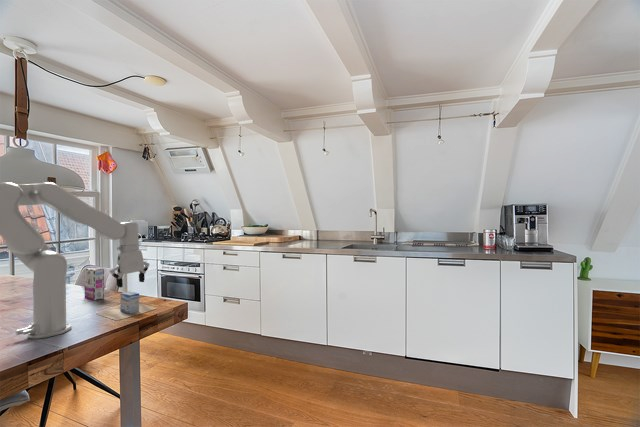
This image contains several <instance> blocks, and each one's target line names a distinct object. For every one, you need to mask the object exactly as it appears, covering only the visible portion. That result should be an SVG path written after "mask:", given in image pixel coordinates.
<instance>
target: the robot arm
mask: <svg viewBox="0 0 640 427" xmlns="http://www.w3.org/2000/svg"><path fill="white" fill-rule="evenodd" d="M36 205H44V206H47V207H48V208H50V209H52V210H54V211H55V212H57V213H59V214H61V215H62V216H63V217H66V218H67V219H68V220H70V221H73V222H75V223H79V224H82V225H84V226H87V227H89V228H92V229H93V230H95V231H96V234H97V236H98V237H100V238H101V239H104V240H113V241H116V240H119V246H117V247H116V250H117V251H119V252H118V255H117V259H116V265H115V266H114V267H113V268H111V269H110V270H109V273H110V275H111V277H113V278H115V279H116V286H117V287H118V288H123V287H124V286H123V285H124V284H123V281H124V279H123V278H122V277H123V276H124V275H127V274H132V273H137V272H139V273H138V281H139V283H144V282H145V274H146V272H148V269H149V267H150V263H149V262H147V261H144V256H143V253H142V249H140V243H139V238H140V237H139V224H138V222H136V221H123V222H119V221H117V220H116V219H114V218H113V217H111V216H110V215H108V214H107V213H104V212H103V211H101V210H100V209H97V208H96V207H94V206H92V205H91V204H88V203H87V202H85V201H83V200H81V198H79V197H77V196H75V195H74V194H72V193H71V192H69V191H68V190H66V189H64V188H63V187H62V186H60V185H58V184H56V183H55V182H51V181H50V182H49V181H47V182H46V181H45V182H40V183H28V184H27V183H13V182H7V181H6V182H5V181H4V182H0V237H2V239H4V241H5V245H6V246H5V247H6V248H8V250H9V251H10V252H11V253H12V254H13V255H14V256H15V257H16V258H17V259H19V261H20V262H21V263H22V264H24V265H25V267H27V268H28V269H29V270H30V271H31V272H33V280H32V306H33V307H32V311H33V312H32V313H33V314H32V315H33V321H32V322H31V323H30V325H29V326H27V327H24V328H19V329H16V330H15V335H16V336H20V335H27V338H30V339H34V340H35V339H44V338H49V337H55V336H58V335H62V334H64V333H66V332H68V331H70V330H71V329H72V324H71V323H67V291H66V290H67V287H66V286H67V284H66V283H67V274H68V273H67V271H68V261H67V259H66V257H65V256H64V255H63V254H61V253H60V252H57V251H53V250H52V249H51V248H50V247H49V246H48V244H47V243H45V238H44V236H43V235H42V234H41V233H40V232H39V231H38V230H37V229H36V228H35V227H34V226H33V225H32V224H31V223H30V222H29V221H28V220H27V219H26V217H24V215H23V214H22V213H21V211H20V207H19V206H22V207H23V206H36ZM116 271H117V273H116Z"/></svg>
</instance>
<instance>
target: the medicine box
mask: <svg viewBox="0 0 640 427" xmlns="http://www.w3.org/2000/svg"><path fill="white" fill-rule="evenodd" d="M119 296H120V298H119V300H120V302H119V304H120V305H119V306H120V307H119V308H120V311H121V312H124V313H128V314H132V313H136V312H139V304H140V293H138V292H133V291H125V292H121V293H120V295H119Z"/></svg>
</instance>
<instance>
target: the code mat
mask: <svg viewBox="0 0 640 427" xmlns="http://www.w3.org/2000/svg"><path fill="white" fill-rule="evenodd" d="M154 310H158V308H157V307H155V306H154V307H153V306H151V305H150V306H149V305H146V304H141V303H139V312H136V313H132V314H128V313H124V312H121V311H120V307H115V308H112V309H109V310H105V311H101V312H97V313H96V315H98V316H101V317H104V318H106V319H110V320H112V319H113V321H115V320H116V322H118V321H122V320H124V319H128V318H131V317H134V316H138V315H142V314H145V313H149V312H151V311H154Z"/></svg>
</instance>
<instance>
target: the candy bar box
mask: <svg viewBox="0 0 640 427" xmlns="http://www.w3.org/2000/svg"><path fill="white" fill-rule="evenodd" d="M104 272H105V271H104V268H100V267H95V266H94V267H86V268H84V277H83V278H84V299H86V300H90V301H95V302H96V301H98V300H99V301H100V300H104V299H105V293H104V292H105V288H104V287H105V278H104V277H105V274H104Z"/></svg>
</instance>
